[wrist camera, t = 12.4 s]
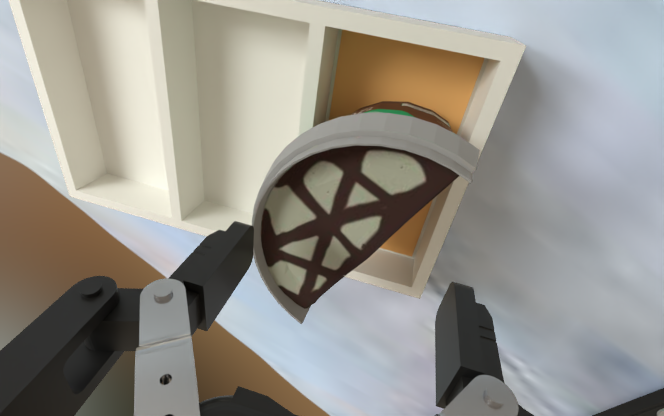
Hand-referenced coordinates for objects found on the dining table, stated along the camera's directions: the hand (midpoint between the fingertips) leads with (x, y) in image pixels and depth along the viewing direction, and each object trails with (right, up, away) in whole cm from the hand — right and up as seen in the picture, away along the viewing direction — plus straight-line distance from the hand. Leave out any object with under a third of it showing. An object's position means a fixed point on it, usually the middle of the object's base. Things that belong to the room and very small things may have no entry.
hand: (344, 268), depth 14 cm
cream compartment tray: (-6, +9, +11) cm, 15 cm away
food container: (+1, +7, +9) cm, 12 cm away
